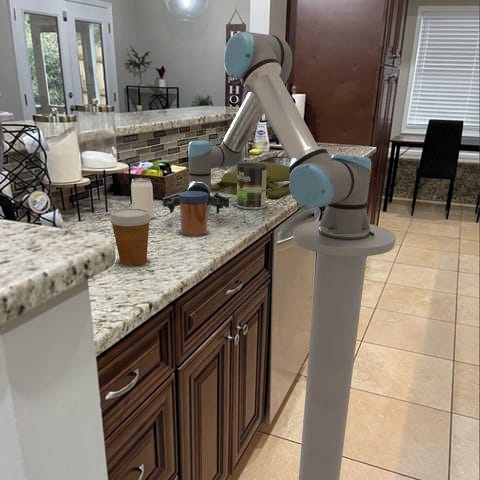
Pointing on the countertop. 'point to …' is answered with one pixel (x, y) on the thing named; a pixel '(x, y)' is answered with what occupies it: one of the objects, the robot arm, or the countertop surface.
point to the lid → (193, 197)
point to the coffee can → (251, 185)
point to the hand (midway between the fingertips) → (194, 208)
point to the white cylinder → (142, 195)
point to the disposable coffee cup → (131, 234)
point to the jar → (193, 219)
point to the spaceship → (273, 175)
